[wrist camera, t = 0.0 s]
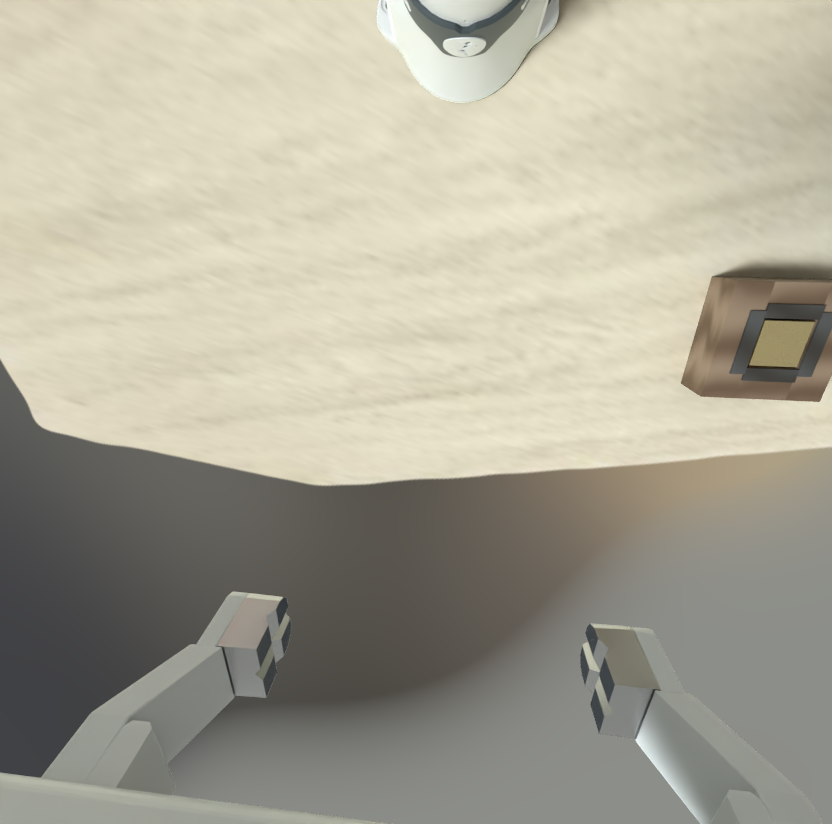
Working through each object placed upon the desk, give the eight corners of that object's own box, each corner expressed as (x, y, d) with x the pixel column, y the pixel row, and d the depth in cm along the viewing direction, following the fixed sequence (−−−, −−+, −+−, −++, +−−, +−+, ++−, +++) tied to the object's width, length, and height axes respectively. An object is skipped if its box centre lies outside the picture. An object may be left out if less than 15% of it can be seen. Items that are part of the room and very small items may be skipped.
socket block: (712, 276, 50) (739, 281, 45) (833, 279, 49) (874, 284, 44) (680, 383, 56) (702, 397, 51) (789, 388, 55) (821, 402, 50)
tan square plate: (759, 318, 48) (765, 320, 47) (808, 320, 47) (815, 322, 46) (743, 363, 50) (749, 365, 49) (790, 364, 49) (796, 367, 49)
